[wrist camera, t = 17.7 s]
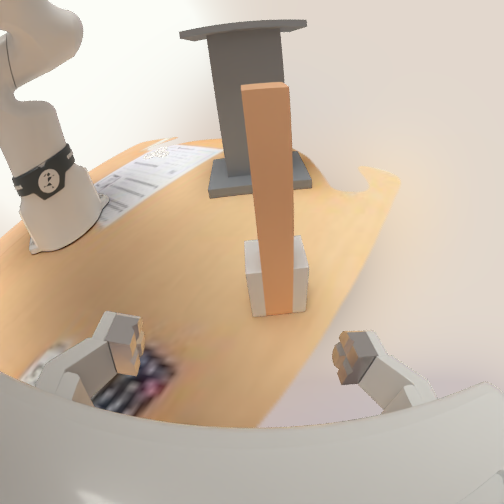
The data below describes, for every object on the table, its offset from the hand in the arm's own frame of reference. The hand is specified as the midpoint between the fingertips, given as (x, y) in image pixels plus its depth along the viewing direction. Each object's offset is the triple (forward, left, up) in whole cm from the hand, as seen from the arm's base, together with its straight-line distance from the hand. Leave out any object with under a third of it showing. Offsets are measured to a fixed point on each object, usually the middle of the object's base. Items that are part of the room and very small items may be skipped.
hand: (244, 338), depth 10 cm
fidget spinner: (-56, +26, -13) cm, 63 cm away
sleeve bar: (-5, +8, -3) cm, 10 cm away
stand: (-25, +28, -12) cm, 40 cm away
